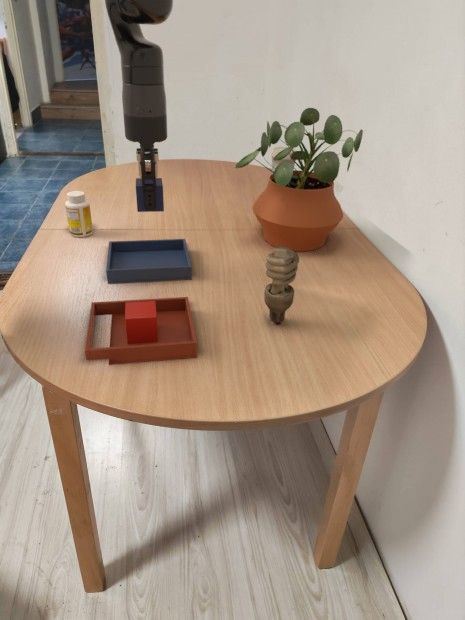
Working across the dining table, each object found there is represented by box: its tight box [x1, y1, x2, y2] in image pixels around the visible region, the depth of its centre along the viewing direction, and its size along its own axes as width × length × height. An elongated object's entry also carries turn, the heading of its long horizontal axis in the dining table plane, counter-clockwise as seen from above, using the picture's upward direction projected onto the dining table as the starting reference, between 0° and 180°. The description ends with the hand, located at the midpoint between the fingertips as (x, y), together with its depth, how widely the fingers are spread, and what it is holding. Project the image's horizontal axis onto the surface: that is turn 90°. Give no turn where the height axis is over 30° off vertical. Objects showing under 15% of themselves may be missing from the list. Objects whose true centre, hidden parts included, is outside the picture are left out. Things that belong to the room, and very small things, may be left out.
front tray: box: [84, 296, 198, 365], centre depth 77 cm, size 17×14×3 cm
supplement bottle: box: [64, 190, 94, 238], centre depth 110 cm, size 6×6×10 cm
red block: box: [125, 301, 158, 343], centre depth 76 cm, size 5×5×5 cm
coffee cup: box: [270, 146, 297, 175], centre depth 148 cm, size 8×8×12 cm
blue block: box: [135, 177, 165, 213], centre depth 88 cm, size 5×5×5 cm
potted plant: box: [235, 107, 364, 252], centre depth 107 cm, size 23×28×30 cm
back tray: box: [105, 238, 193, 285], centre depth 99 cm, size 17×14×3 cm
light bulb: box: [263, 246, 300, 325], centre depth 79 cm, size 6×6×15 cm
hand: (150, 204), depth 89 cm, fingers closed on blue block, 5 cm apart
